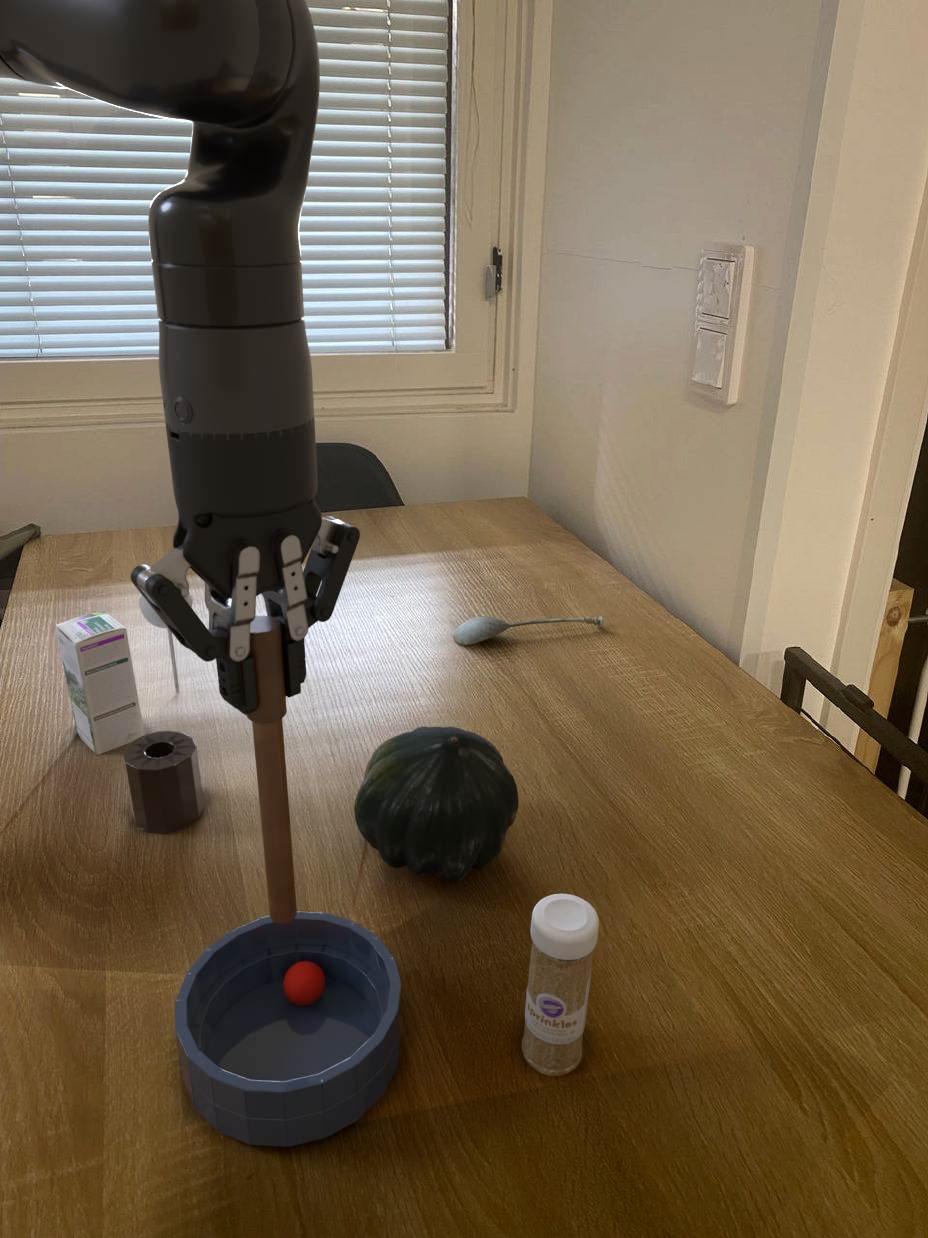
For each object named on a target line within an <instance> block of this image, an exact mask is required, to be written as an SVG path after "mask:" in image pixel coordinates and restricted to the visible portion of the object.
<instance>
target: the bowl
mask: <svg viewBox="0 0 928 1238" xmlns="http://www.w3.org/2000/svg"><path fill="white" fill-rule="evenodd" d="M302 961H310V962H313V963H315V964H317V965H318V966H319V967H320V968H321V969H322V971H323V973H324V976H325V989H324V992H323V994H322V995H321V997H320V998H319V999H318V1000H317V1001H316V1002H314V1003H313V1004H310V1005H307V1006H299V1005H296V1004H294V1003H292V1002H291V1001H290V1000H289V999H288V998H287V997H286V995H285V993H284V989H283V981H284V977H285V975H286V973H287V971H288V970H289V969H290V968H291V967H292V966H293V965H294V964H296V963H298V962H302ZM402 986H403V985H402V981H401V977H400V972H399V969H398V965H397V962H396V959H395V957H394V956H393V954H392V953H391V951H390V950H389V949H388V947H387V946H386V945H385V943H383V941H382V940H381V938H380V937H379V936H378V935H376V934H375V933H373V932H371V931H370V930H368V929H367V928H366V927H364V926H363V925H361V924H360V923H358V922H356V921H354V920H351V919H348V918H345V917H341V916H338V915H335V914H331V913H328V912H327V913H326V912H316V911H315V912H314V911H297V914H296V917H295V918H294V919H293V920H292V921H291V922H288V923H285V924H278V923H275V922H273V921H272V920H271V918H270V915H267V916H262V917H260V918H257V919H254V920H253V921H250V922H248V923H245V924H243V925H241V926H238V927H235V928H233V929H232V930H230V931H228V932H227V933H226V934H224V935H223V936H222V937H219V938H218V939H217V940H216V941H214V942H213V943H212V944H210V945H209V946H208V947H206V949H205V950H204V951H203V952H202V954H200V956H199V957H198V958H197V959H196V960H195V962H194V963H193V964H192V965H191V967H190V968H189V969H188V970H187V971H186V973H185V976H184V977H183V981H182V982H181V985H180V988H179V990H178V993H177V995H176V998H175V1002H174V1032H175V1038H176V1043H177V1049H178V1057H179V1063H180V1069H181V1075H182V1081H183V1085H184V1088H185V1091H186V1092H187V1094H188V1095H189V1096H188V1097H189V1099H190V1101H191V1103H192V1106H193V1108H194V1110H195V1111H196V1112H197V1113H198V1114H199V1115H200V1116H201V1117H202V1118H203V1119H204V1120H206V1122H207V1123H209V1124H210V1125H211V1126H212V1127H213V1128H214V1129H215V1130H216V1131H217V1132H219V1133H220V1134H223V1135H225V1136H228V1137H230V1138H233V1139H235V1140H238V1141H240V1142H243V1143H245V1144H248V1145H250V1146H251V1145H252V1146H265V1147H283V1148H288V1147H289V1148H290V1147H294V1146H298V1145H302V1144H303V1145H304V1144H307V1143H310V1142H315V1141H319V1140H323V1139H326V1138H329V1137H330V1136H332V1135H334V1134H336V1133H338V1132H339V1131H341V1130H343V1129H344V1128H346V1127H348V1126H350V1125H352V1124H353V1123H355V1122H357V1121H359V1119H361V1118H362V1117H363V1116H364V1115H365V1114H366V1113H367V1111H368V1110H370V1109H371V1107H372V1106H373V1105H375V1104H376V1103H377V1102H378V1100H380V1099H381V1097H382V1096H383V1095H384V1094H385V1092H386V1090H387V1088H388V1086H389V1084H390V1082H391V1080H392V1078H393V1076H394V1074H395V1072H396V1070H397V1068H398V1066H399V1064H400V1054H401V1045H402V1037H403V1021H402V1020H403V1016H402V1015H403V1011H402V1010H403V1009H402V1008H403V1006H402V1005H403V1004H402V1003H403V1000H402V999H403V998H402V997H403V996H402V992H403V991H402Z"/></svg>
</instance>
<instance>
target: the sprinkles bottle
mask: <svg viewBox="0 0 928 1238" xmlns="http://www.w3.org/2000/svg"><path fill="white" fill-rule="evenodd" d="M530 920H531V921H530V931H529V932H530V937H531V949H530V951H531V952H530V962H529V971H528V983H527V987H526V996H525V1007H524V1032H523V1037H522V1040H521V1052H522V1055H523V1057H524V1059H525V1061H526V1063H527V1064H528V1065H529V1066H530V1067H531V1068H532V1069H534V1070H535V1071H536V1072H538V1073H540V1074H542V1075H545V1076H549V1077H560V1076H564V1075H568V1074H569V1073H570V1072H573V1070H575V1069H576V1068H577V1067H578V1065H579V1064H580V1063H581V1060H582V1057H583V1038H584V1030H585V1027H586V1020H587V1011H588V1004H589V994H590V987H591V978H592V963H593V956H594V951H595V949H596V946H597V943H598V937H599V927H600V920H599V916H598V913H597V911H596V909H595V908H594V907H593V906H592V904H590V903H589V902H588V901H587V900H586V899H583V898H581V897H579V896H577V895H573V894H569V893H555V894H550V895H547V896H545V897H543V898H541V899H540V900H539V901H538V902H537V903H536V905H534V908H533V910H532V913H531V919H530ZM570 1074H571V1073H570Z"/></svg>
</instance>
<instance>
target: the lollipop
mask: <svg viewBox="0 0 928 1238" xmlns="http://www.w3.org/2000/svg"><path fill="white" fill-rule="evenodd" d="M140 594H141V593H140ZM184 598H185V600H186V601H187V602H188V604H189V605H190V606H191V608H192V609H193V603H194V602H193V601H194V600H193V596H192V594H191V592H189V595H188V596H187V597H184ZM138 607H139V610H140V613H141V614H142V616H143V618H144V619H145V620H146V621H147V622H148V623H150V624H151V625H153V626H154V627H157V628H159V629H167V636H168V644H169V652H170V653H169V654H170V659H171V666H172V674H173V675H172V676H173V683H174V690H175V693H177V694H178V693H180V685H179V678H178V668H177V662H176V655H175V654H176V653H175V647H174V646H175V645H174V638H173V633H172V632H171V631H170V630H169V628H168V627H167V626H166V624H165V623H164V622H163V621H162V619H161V618H160V617H159V616H158V614H157V613H156V612H155V611H154V609H153V608H152V607H151V605H150V604H149V603H148V602H147V600H146V599H145V598H144V597H143V595H142V594H141V595H140V596H139V599H138Z"/></svg>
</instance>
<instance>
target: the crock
mask: <svg viewBox="0 0 928 1238" xmlns="http://www.w3.org/2000/svg"><path fill="white" fill-rule="evenodd" d="M122 761H123V766H124V772H125V778H126V784H127V790H128V796H129V802H130V807H131V814H132V818H133V821H134V824H135V826H136V827H137V828H139V829H140V830H142V831H145V832H147V833H150V834H169V833H170V834H171V833H175V832H178V831H181V830H183V829H186V828H188V827H190V826H191V825H193V824H194V823H196V821H197V820H198V819H200V817H201V816H202V813H203V810H204V808H205V803H204V796H203V787H202V779H201V771H200V764H199V755H198V747H197V743H196V742H195V739H194V737H193V736H192V735H189V734H186V733H184V732H182V731H177V730H159V731H155V732H150V733H146V734H145V733H144V735H143V736H141V737H139V738H138V739H136V740H134V741H132V742H130V743H128V744H127V746H125V749H124V750H123V752H122Z"/></svg>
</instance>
